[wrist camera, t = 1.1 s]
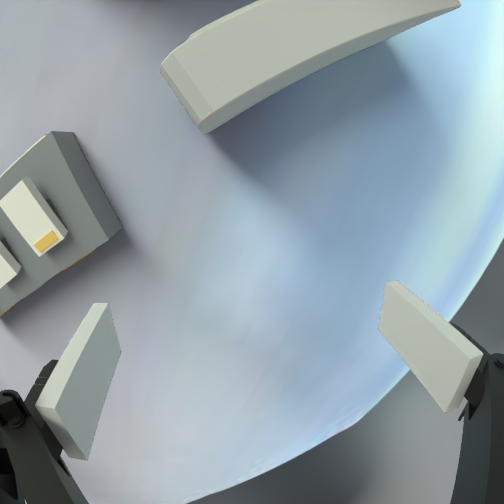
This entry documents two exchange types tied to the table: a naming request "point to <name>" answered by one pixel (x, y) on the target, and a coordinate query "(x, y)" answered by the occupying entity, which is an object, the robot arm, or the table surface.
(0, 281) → the rocker
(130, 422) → the table surface
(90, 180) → the switch unit
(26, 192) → the rocker
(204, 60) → the rounded white slab
